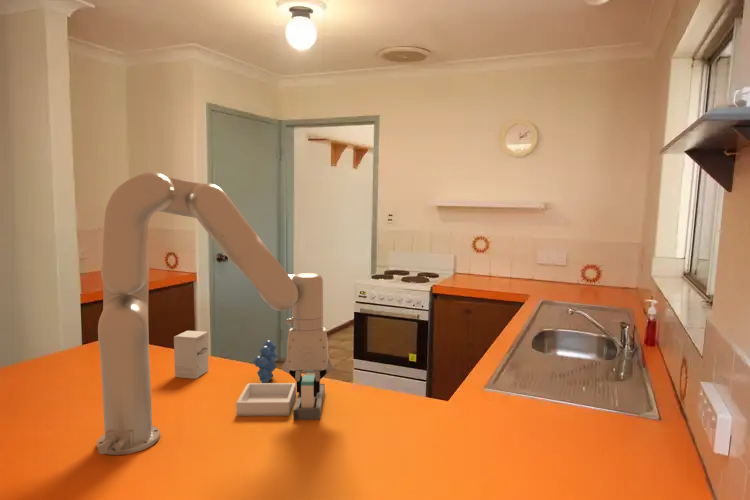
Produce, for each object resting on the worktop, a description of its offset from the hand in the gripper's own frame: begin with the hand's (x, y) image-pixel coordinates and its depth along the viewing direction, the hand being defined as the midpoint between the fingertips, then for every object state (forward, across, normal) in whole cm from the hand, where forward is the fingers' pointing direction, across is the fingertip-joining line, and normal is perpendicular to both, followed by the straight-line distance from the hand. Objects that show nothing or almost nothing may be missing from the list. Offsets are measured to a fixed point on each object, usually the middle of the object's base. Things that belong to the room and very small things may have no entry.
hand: (308, 394), depth 130 cm
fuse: (+5, 0, +9) cm, 10 cm away
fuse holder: (+5, 0, +4) cm, 7 cm away
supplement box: (+5, -38, +28) cm, 47 cm away
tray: (+5, -11, +4) cm, 13 cm away
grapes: (+5, -15, +22) cm, 27 cm away
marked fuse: (+5, 0, 0) cm, 5 cm away
